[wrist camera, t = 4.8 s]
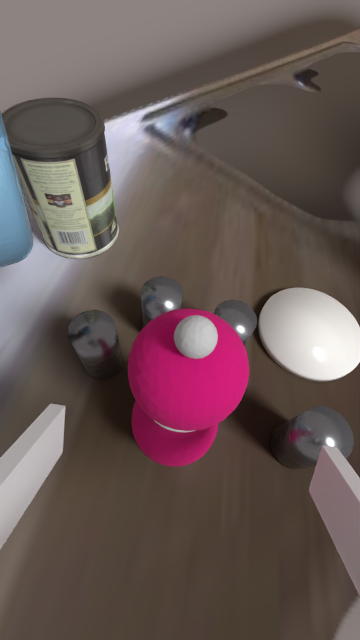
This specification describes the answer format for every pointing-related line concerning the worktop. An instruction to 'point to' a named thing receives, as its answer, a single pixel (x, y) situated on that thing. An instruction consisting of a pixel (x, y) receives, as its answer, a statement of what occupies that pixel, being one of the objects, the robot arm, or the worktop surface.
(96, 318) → the posts
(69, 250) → the coffee can
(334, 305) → the disc
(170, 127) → the worktop surface
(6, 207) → the robot arm
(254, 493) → the worktop surface
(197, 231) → the worktop surface
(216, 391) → the pepper mill
